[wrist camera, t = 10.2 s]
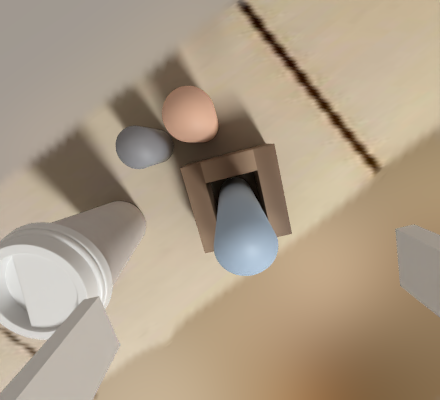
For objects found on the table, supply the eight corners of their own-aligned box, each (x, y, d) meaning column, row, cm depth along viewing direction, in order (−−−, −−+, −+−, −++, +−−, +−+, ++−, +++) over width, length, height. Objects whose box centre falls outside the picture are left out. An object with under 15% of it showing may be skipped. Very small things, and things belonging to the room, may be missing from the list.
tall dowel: (224, 210, 31) (222, 281, 15) (216, 181, 30) (206, 224, 14) (253, 203, 30) (283, 268, 15) (247, 173, 29) (271, 209, 14)
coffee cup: (95, 179, 30) (-28, 213, 15) (166, 203, 31) (112, 259, 16) (80, 243, 32) (-39, 326, 18) (146, 265, 33) (84, 363, 18)
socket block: (208, 236, 32) (205, 253, 27) (187, 163, 29) (179, 168, 24) (281, 219, 31) (291, 233, 26) (265, 143, 28) (274, 143, 24)
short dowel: (147, 166, 29) (124, 173, 23) (136, 134, 29) (109, 132, 22) (177, 157, 29) (163, 162, 22) (167, 125, 28) (149, 120, 21)
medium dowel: (190, 146, 29) (171, 148, 18) (181, 112, 28) (154, 94, 17) (222, 137, 28) (221, 134, 18) (213, 103, 28) (207, 78, 17)
